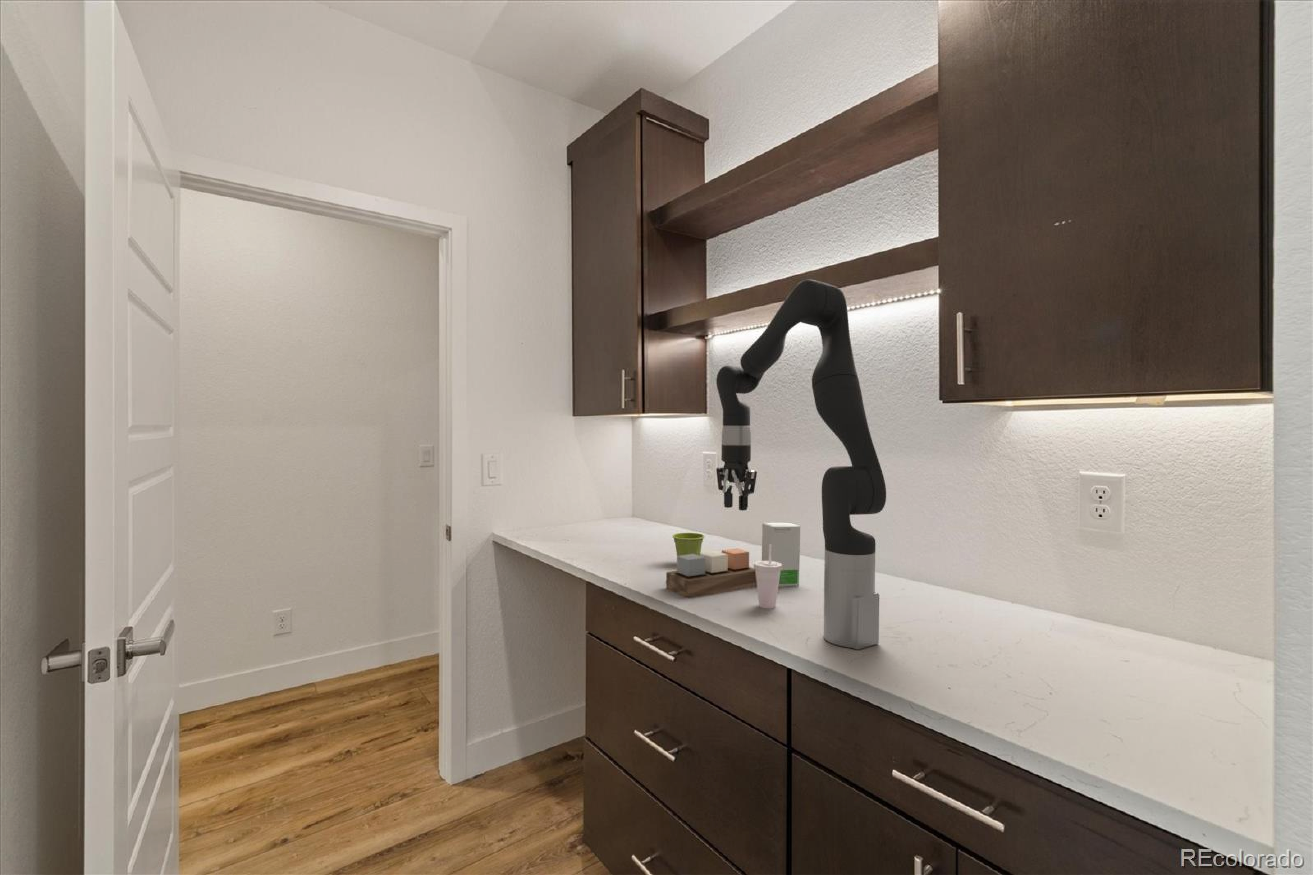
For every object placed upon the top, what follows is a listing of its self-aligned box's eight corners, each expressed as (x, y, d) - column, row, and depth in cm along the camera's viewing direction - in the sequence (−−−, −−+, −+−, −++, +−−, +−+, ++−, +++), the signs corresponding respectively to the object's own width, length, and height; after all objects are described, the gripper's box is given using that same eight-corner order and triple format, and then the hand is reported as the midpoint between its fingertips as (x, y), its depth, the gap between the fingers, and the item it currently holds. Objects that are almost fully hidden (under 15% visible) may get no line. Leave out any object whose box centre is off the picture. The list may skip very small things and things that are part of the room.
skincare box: (770, 588, 150) (771, 526, 149) (759, 581, 156) (760, 522, 156) (800, 586, 152) (801, 525, 151) (789, 579, 158) (789, 521, 158)
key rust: (749, 567, 153) (749, 551, 153) (733, 569, 150) (734, 553, 150) (736, 563, 157) (736, 548, 157) (721, 565, 155) (721, 550, 154)
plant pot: (694, 570, 167) (694, 539, 167) (666, 565, 173) (666, 536, 172) (710, 564, 175) (710, 534, 175) (682, 559, 180) (682, 531, 180)
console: (759, 585, 152) (759, 570, 152) (688, 598, 140) (688, 581, 140) (735, 577, 160) (735, 562, 160) (666, 588, 149) (666, 572, 149)
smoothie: (774, 612, 130) (774, 548, 130) (748, 606, 134) (748, 545, 134) (786, 605, 135) (787, 544, 135) (761, 600, 139) (761, 540, 139)
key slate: (705, 573, 146) (705, 557, 146) (688, 576, 143) (688, 560, 143) (693, 569, 150) (693, 553, 150) (676, 572, 147) (677, 556, 147)
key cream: (727, 570, 149) (727, 554, 149) (711, 572, 147) (711, 556, 147) (715, 566, 154) (715, 551, 153) (699, 568, 151) (700, 553, 151)
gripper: (766, 444, 149) (765, 511, 149) (730, 442, 161) (729, 504, 161) (742, 444, 145) (742, 513, 145) (707, 442, 157) (707, 506, 158)
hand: (735, 508), depth 153 cm, fingers open, 5 cm apart
